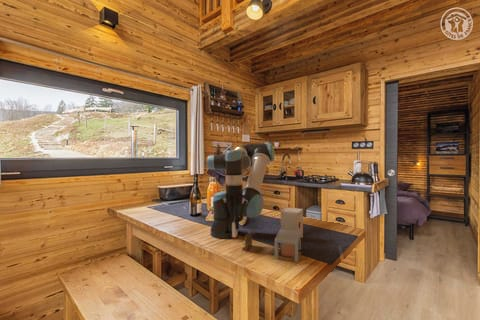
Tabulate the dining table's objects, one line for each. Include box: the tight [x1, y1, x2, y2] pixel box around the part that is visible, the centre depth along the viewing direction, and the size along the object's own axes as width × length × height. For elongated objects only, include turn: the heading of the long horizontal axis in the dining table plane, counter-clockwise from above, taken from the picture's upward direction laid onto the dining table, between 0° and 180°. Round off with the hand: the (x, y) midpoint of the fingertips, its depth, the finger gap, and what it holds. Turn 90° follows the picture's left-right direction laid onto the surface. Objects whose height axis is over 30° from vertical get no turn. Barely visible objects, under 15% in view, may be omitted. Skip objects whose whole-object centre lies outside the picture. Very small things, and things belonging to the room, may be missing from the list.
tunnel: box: [274, 228, 302, 263], centre depth 94 cm, size 9×13×9 cm
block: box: [281, 243, 295, 257], centre depth 94 cm, size 5×5×6 cm
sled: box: [244, 230, 302, 260], centre depth 96 cm, size 23×7×8 cm, turn 70°
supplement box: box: [280, 206, 304, 239], centre depth 113 cm, size 9×9×15 cm
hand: (234, 236), depth 102 cm, fingers closed
